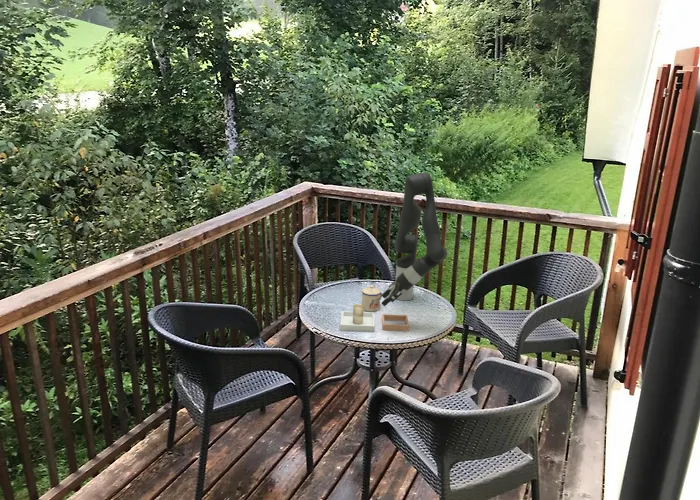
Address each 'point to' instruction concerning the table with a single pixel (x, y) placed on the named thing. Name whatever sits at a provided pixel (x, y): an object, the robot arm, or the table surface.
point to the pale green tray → (348, 324)
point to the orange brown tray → (393, 326)
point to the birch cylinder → (358, 314)
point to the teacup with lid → (371, 298)
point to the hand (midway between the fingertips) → (382, 300)
